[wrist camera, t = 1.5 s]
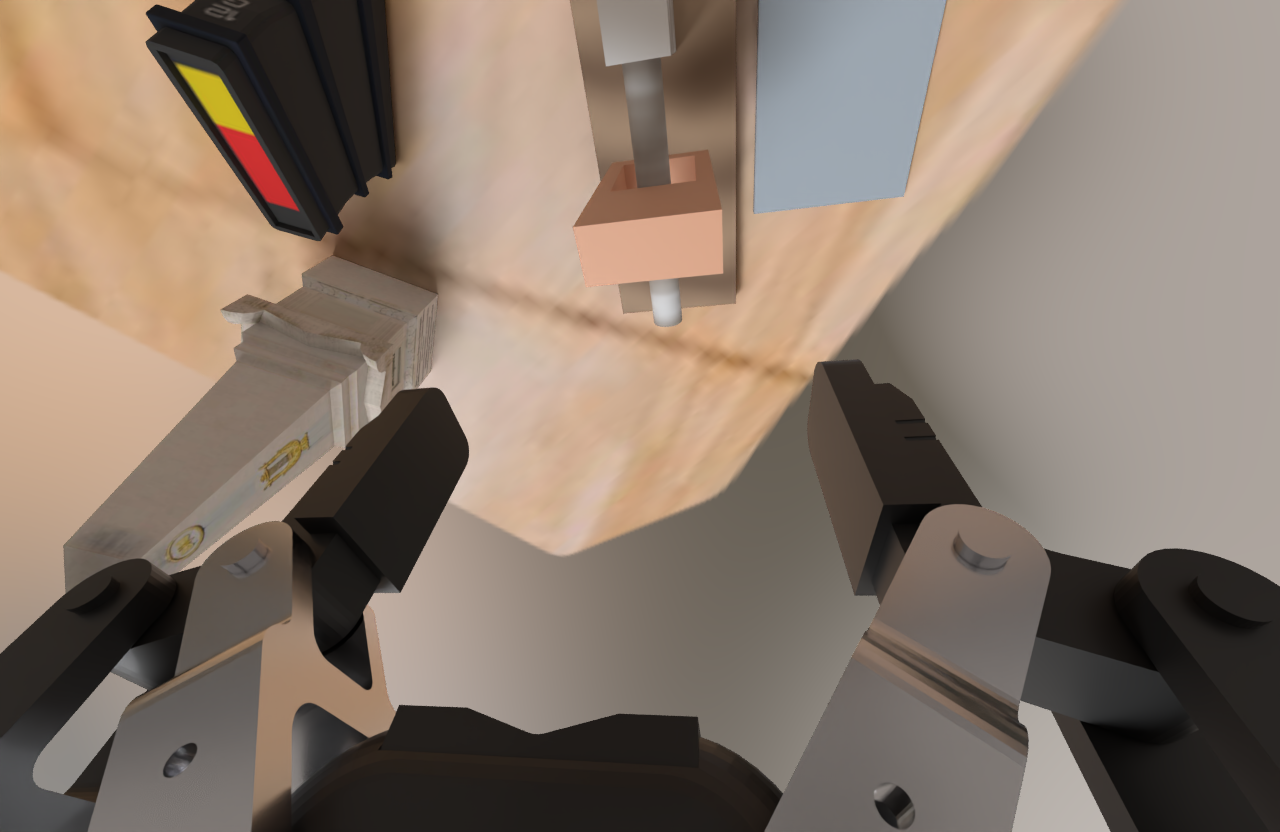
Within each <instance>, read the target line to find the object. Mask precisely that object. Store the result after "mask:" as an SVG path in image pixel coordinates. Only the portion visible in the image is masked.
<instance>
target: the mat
mask: <svg viewBox="0 0 1280 832" xmlns="http://www.w3.org/2000/svg"><path fill="white" fill-rule="evenodd" d="M945 4H946V0H758V38H757V81H756V124H755V166H754V209H753V212H754V214H758V213H766V212H775V211H783V210H792V209H801V208H809V207H818V206H826V205H835V204H843V203H852V202H861V201H869V200H878V199H886V198H895V197H904V193H905V188H906V184H907V179H908V174H909V170H910V165H911V161H912V156H913V151H914V147H915V142H916V138H917V133H918V128H919V124H920V119H921V114H922V110H923V105H924V101H925V96H926V91H927V87H928V82H929V78H930V73H931V68H932V64H933V59H934V55H935V50H936V45H937V41H938V36H939V31H940V27H941V22H942V18H943V13H944V8H945Z"/></svg>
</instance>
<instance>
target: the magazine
mask: <svg viewBox="0 0 1280 832" xmlns="http://www.w3.org/2000/svg"><path fill="white" fill-rule="evenodd" d="M146 15H147V16H148V18H149V20H150V21H151V23H152V24H153V26H154V27H155V29H156V30H157V33H156V34H154V35H153V36H152V37H151V38H150V39H148V40H147V41H146V45H147V47H148V49H149V50H150V52H151V53H152V55H153V56H154V57H155V59H156V60H157V62H158V63H159V65H160V66H161V68H162V69H163V70H164V72H165V73H166V75H167V76H168V78H169V79H170V81H171V82H172V83H173V85H174V86H175V88H176V89H177V91H178V92H179V94H180V95H181V96H182V98H183V99H184V101H185V102H186V104H187V105H188V107H189V108H190V109H191V111H192V112H193V114H194V115H195V117H196V118H197V120H198V121H199V122H200V124H201V125H202V127H203V128H204V130H205V131H206V133H207V134H208V135H209V137H210V138H211V140H212V141H213V143H214V144H215V146H216V147H217V148H218V150H219V151H220V153H221V154H222V156H223V157H224V159H225V160H226V161H227V163H228V164H229V166H230V167H231V169H232V170H233V172H234V173H235V174H236V176H237V177H238V179H239V180H240V182H241V183H242V185H243V186H244V187H245V189H246V190H247V192H248V193H249V195H250V196H251V198H252V199H253V200H254V202H255V203H256V205H257V206H258V208H259V209H260V211H261V212H262V213H263V215H264V216H265V218H266V219H267V221H268V222H269V224H270V225H271V226H272V227H273V228H275V229H277V230H280V231H284V232H287V233H291V234H294V235H298V236H301V237H305V238H308V239H312V240H315V241H321V240H322V238H323V237H324V235H325V234H326V232H331V233H334V234H339V233H340V231H341V229H342V228H343V225H342V223H341V221H340V219H339V217H338V214H339V212H340V211H341V209H342V208H343V206H344V205H345V203H346V202H347V201H348V200H349V199H350V198H351V197H352V196H353V195H354V194H355V195H359V196H362V197H366V196H367V195H368V194H369V191H368V188H367V185H366V182H368V181H369V180H370V179H372V178H373V177H375V176H379V177H383V178H386V179H390V178H392V169H391V168H392V167H395V164H396V159H395V144H394V130H393V116H392V101H391V87H390V73H389V58H388V44H387V30H386V15H385V1H384V0H195V1H194V2H193V3H192V4H190V5H189V6H188V7H187V8H186V9H184V10H183V11H182V12H179V11H176V10H173V9H170V8H167V7H163V6H160V5H155V6H153V7H152V8H151V9H150V10H148V11H147V12H146Z"/></svg>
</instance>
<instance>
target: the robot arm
mask: <svg viewBox="0 0 1280 832" xmlns="http://www.w3.org/2000/svg"><path fill="white" fill-rule="evenodd" d="M807 425H808V426H807V434H808V444H809V449H810V453H811V457H812V460H813V463H814V466H815V469H816V473H817V476H818V479H819V482H820V485H821V489H822V492H823V495H824V498H825V502H826V505H827V508H828V511H829V514H830V517H831V521H832V524H833V527H834V530H835V534H836V537H837V540H838V543H839V547H840V550H841V553H842V556H843V559H844V563H845V566H846V569H847V572H848V576H849V578H850V582H851V585H852V588H853V592H854V595H876V596H877V598H878V601H879V604H880V607H879V609H878V611H877V613H876V615H875V617H874V619H873V621H872V623H871V625H870V627H869V628H868V630H867V631H865V633H864V635H863V636H862V638H861V640H860V642H859V644H858V645H857V648H856V649H855V651H854V653H853V655H852V657H851V659H850V661H849V663H848V665H847V667H846V669H845V671H844V673H843V675H842V677H841V679H840V681H839V683H838V685H837V687H836V689H835V691H834V693H833V695H832V697H831V699H830V702H829V703H828V705H827V707H826V709H825V711H824V713H823V715H822V717H821V719H820V721H819V723H818V725H817V727H816V729H815V731H814V733H813V736H812V737H811V739H810V741H809V743H808V745H807V747H806V749H805V751H804V753H803V755H802V757H801V759H800V761H799V763H798V765H797V768H796V769H795V771H794V773H793V775H792V777H791V779H790V781H789V783H788V786H787V787H786V789H785V791H784V793H782V792H781V791H780V790H779V789H778V788H777V786H776V785H775V784H774V783H773V782H772V781H770V780H769V779H768V778H767V777H766V776H765V775H764V774H763V773H762V772H761V771H760V770H759V769H757V768H756V767H755V766H753V765H752V764H750V763H749V762H748V761H747V760H745V759H744V758H742V757H741V756H740V755H738V754H737V753H735V752H733V751H731V750H729V749H727V748H725V747H723V746H722V745H720V744H718V743H715V742H713V741H710V740H707V739H704V738H702V737H701V735H700V729H699V723H698V717H687V716H662V715H635V714H616V715H612V716H609V717H605V718H601V719H598V720H593V721H590V722H586V723H582V724H578V725H575V726H571V727H568V728H564V729H559V730H556V731H552V732H548V733H544V734H531V733H528V732H525V731H523V730H520V729H518V728H515V727H513V726H510V725H508V724H506V723H503V722H501V721H499V720H496V719H494V718H491V717H488V716H486V715H484V714H481V713H479V712H476V711H474V710H472V709H469V708H461V707H460V708H458V707H435V706H434V707H433V706H410V705H409V706H408V705H399V707H398V709H397V711H395V710H394V708H393V706H392V705H391V702H390V700H389V697H388V693H387V688H386V681H385V676H384V669H383V664H382V657H381V650H380V644H379V638H378V633H377V626H376V619H375V614H374V611H373V610H372V608H371V607H370V606H369V605H368V602H369V601H370V599H371V597H372V595H373V594H374V593H400V592H401V590H402V589H403V587H404V585H405V583H406V581H407V579H408V577H409V575H410V573H411V571H412V569H413V567H414V565H415V563H416V562H417V560H418V558H419V556H420V554H421V552H422V550H423V548H424V546H425V544H426V542H427V540H428V539H429V537H430V535H431V533H432V531H433V529H434V527H435V525H436V523H437V521H438V519H439V517H440V515H441V513H442V512H443V510H444V508H445V506H446V504H447V502H448V500H449V498H450V496H451V494H452V492H453V490H454V488H455V486H456V485H457V483H458V481H459V479H460V477H461V475H462V473H463V471H464V469H465V467H466V465H467V462H468V458H469V446H468V442H467V439H466V436H465V434H464V432H463V430H462V428H461V426H460V424H459V422H458V421H457V419H456V417H455V415H454V413H453V411H452V409H451V407H450V405H449V403H448V401H447V399H446V397H445V395H444V393H443V392H442V391H441V390H440V389H438V388H421V389H406V390H401V391H399V392H398V393H397V394H396V395H395V396H394V397H393V399H392V400H391V401H390V402H389V403H388V405H387V406H386V407H385V408H384V409H383V411H382V412H381V413H380V414H379V415H378V416H377V417H376V418H374V419H373V420H372V421H370V422H369V423H368V424H366V425H365V426H364V427H362V428H361V429H360V430H359V431H358V432H357V433H356V434H355V436H354V437H353V438H352V439H351V440H350V442H349V443H348V444H347V445H346V446H345V448H346V449H345V450H342V451H341V452H340V453H339V455H338V456H337V457H336V458H335V459H334V460H333V465H329V466H328V468H327V469H326V470H325V471H324V472H323V473H322V475H321V476H320V477H319V478H318V479H317V481H316V482H315V483H314V484H313V485H312V487H311V488H310V489H309V490H308V491H307V493H306V494H305V495H304V496H303V497H302V498H301V500H300V501H299V502H298V503H297V504H296V505H295V507H294V508H293V509H292V510H291V511H290V513H289V514H288V515H287V516H286V517H285V518H284V520H283V521H282V522H279V521H272V522H266V523H262V524H258V525H255V526H253V527H250V528H248V529H246V530H244V531H242V532H240V533H238V534H237V535H235V536H233V537H232V538H230V539H229V540H228V541H226V542H225V543H224V544H222V545H221V546H220V547H218V548H217V549H216V550H215V551H214V552H213V553H212V554H211V555H210V556H209V557H208V558H207V559H206V560H205V562H204V563H203V564H202V566H199V567H196V568H192V569H188V570H185V571H181V572H178V573H175V574H171V575H168V574H166V573H165V572H163V571H162V570H161V569H159V568H158V567H156V566H155V565H153V564H152V563H151V562H149V561H148V560H146V559H141V558H136V559H129V560H125V561H122V562H119V563H116V564H113V565H111V566H109V567H107V568H104V569H102V570H101V571H99V572H97V573H95V574H93V575H92V576H90V577H88V578H87V579H85V580H83V581H82V582H80V583H79V584H78V585H76V586H75V587H73V588H72V589H71V590H70V591H68V592H67V593H66V594H65V595H63V596H62V597H61V598H60V599H59V600H58V601H57V602H56V603H55V604H54V605H52V607H50V608H49V609H48V610H47V611H46V612H45V613H44V614H43V615H42V616H41V617H40V618H38V619H37V620H36V621H35V622H34V623H33V624H32V625H31V626H30V627H29V628H28V629H27V630H26V631H24V632H23V633H22V634H21V635H20V636H19V637H18V638H17V639H16V640H15V641H14V642H13V643H11V644H10V645H9V646H8V647H7V648H6V649H5V650H4V651H3V652H2V653H1V654H0V832H1012V827H1013V822H1014V818H1015V813H1016V809H1017V804H1018V800H1019V795H1020V790H1021V786H1022V781H1023V776H1024V772H1025V767H1026V762H1027V755H1028V742H1029V740H1028V732H1027V729H1026V728H1025V726H1024V725H1022V724H1021V723H1019V721H1018V709H1019V703H1020V700H1021V701H1024V702H1027V703H1030V704H1033V705H1036V706H1039V707H1042V708H1045V709H1048V710H1051V711H1052V713H1053V716H1054V717H1055V720H1056V722H1057V723H1058V726H1059V727H1060V730H1061V732H1062V734H1063V736H1064V738H1065V740H1066V742H1067V744H1068V746H1069V748H1070V750H1071V752H1072V754H1073V756H1074V758H1075V760H1076V762H1077V764H1078V766H1079V768H1080V770H1081V772H1082V774H1083V776H1084V778H1085V780H1086V782H1087V784H1088V786H1089V788H1090V791H1091V792H1092V794H1093V796H1094V799H1095V800H1096V803H1097V805H1098V806H1099V809H1100V811H1101V813H1102V815H1103V817H1104V819H1105V821H1106V823H1107V825H1108V827H1109V829H1110V831H1111V832H1280V586H1278V585H1277V584H1275V583H1273V582H1272V581H1270V580H1269V579H1267V578H1265V577H1264V576H1261V575H1260V574H1258V573H1256V572H1254V571H1252V570H1250V569H1248V568H1246V567H1244V566H1241V565H1239V564H1237V563H1235V562H1232V561H1229V560H1226V559H1224V558H1221V557H1218V556H1214V555H1211V554H1207V553H1203V552H1198V551H1193V550H1187V549H1162V550H1157V551H1154V552H1151V553H1149V554H1147V555H1146V556H1145V557H1143V558H1142V559H1141V560H1140V561H1139V562H1138V563H1137V564H1136V565H1135V566H1134V567H1133V568H1132V569H1128V568H1123V567H1119V566H1114V565H1110V564H1105V563H1101V562H1097V561H1092V560H1088V559H1083V558H1079V557H1074V556H1070V555H1065V554H1061V553H1057V552H1054V551H1050V550H1047V549H1044V548H1043V547H1042V545H1041V544H1040V543H1039V542H1038V540H1036V538H1035V537H1034V536H1033V535H1032V534H1031V533H1030V532H1028V531H1027V530H1026V529H1025V528H1024V527H1022V526H1021V525H1019V524H1018V523H1016V522H1015V521H1013V520H1011V519H1009V518H1008V517H1006V516H1004V515H1002V514H999V513H997V512H995V511H992V510H989V509H986V508H983V507H982V506H981V505H980V503H979V501H978V500H977V498H976V497H975V496H974V494H973V492H972V491H971V489H970V488H969V486H968V484H967V483H966V481H965V480H964V478H963V477H962V475H961V474H960V472H959V471H958V469H957V467H956V466H955V464H954V463H953V461H952V460H951V458H950V457H949V455H948V454H947V452H946V451H945V449H944V448H943V446H942V444H941V443H940V441H939V440H936V438H935V437H936V435H935V433H934V432H933V431H932V429H931V427H930V426H929V424H928V423H925V418H924V416H923V415H922V414H921V412H920V410H919V409H918V407H917V406H916V404H915V403H914V401H913V400H912V399H911V398H910V397H909V396H907V395H906V394H904V393H903V392H901V391H900V390H899V389H897V388H896V387H894V386H893V385H892V384H890V383H884V384H874V383H873V381H872V379H871V377H870V376H869V374H868V372H867V370H866V368H865V367H864V365H863V363H862V362H861V361H860V360H858V359H854V360H841V361H825V362H818V363H817V364H816V367H815V370H814V377H813V385H812V393H811V400H810V408H809V415H808V424H807ZM110 672H112V673H114V674H116V675H119V676H120V677H123V678H124V679H126V680H128V681H131V682H133V683H135V684H137V685H139V686H141V687H143V688H145V689H147V691H146V692H145V693H143V694H141V695H140V696H137V697H136V698H135V699H134V700H132V701H131V702H130V703H129V704H128V706H127V707H126V708H125V710H124V712H123V714H122V715H121V718H120V721H119V724H118V727H117V730H116V731H115V732H114V733H113V734H112V736H111V737H110V738H109V740H108V741H107V742H106V744H105V745H104V746H103V747H102V748H101V750H100V751H99V752H98V754H97V755H96V756H95V757H94V759H93V760H92V761H91V763H90V764H89V765H88V766H87V768H86V769H85V770H84V772H83V773H82V774H81V775H80V776H79V778H78V779H77V780H76V782H75V783H74V784H73V785H72V786H71V788H70V789H68V790H67V792H65V793H64V794H60V793H56V792H52V791H48V790H44V789H42V788H39V787H38V786H37V785H36V784H35V782H34V781H33V768H34V764H35V762H36V760H37V758H38V756H39V755H40V753H41V752H42V750H43V749H44V748H45V746H46V745H47V744H48V743H49V742H50V740H52V738H53V737H54V736H55V735H56V734H57V732H58V731H59V730H60V729H61V728H62V727H63V726H64V725H65V723H66V722H67V721H68V720H69V719H70V718H71V716H72V715H73V714H74V713H75V712H76V711H77V710H78V708H79V707H80V706H81V705H82V704H83V703H84V702H85V700H86V699H87V698H88V697H89V696H90V695H91V693H92V692H93V691H94V690H95V689H96V688H97V687H98V685H99V684H100V683H101V682H102V681H103V680H104V679H105V677H106V676H107V675H108V674H109V673H110Z"/></svg>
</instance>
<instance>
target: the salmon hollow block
mask: <svg viewBox="0 0 1280 832" xmlns="http://www.w3.org/2000/svg"><path fill="white" fill-rule="evenodd" d="M669 165H670V177H671V184H666V185H658V186H650V187H643V188H637V181H636V173H635V165H634V160H629V161H622V162H615V163H612V164H611V166H610V167H609V169H608V171H607V172H606V174H605V176H604V177H603V179H602V180H601V182H600V184H599V185H598V187H597V189H596V190H595V192H594V194H593V195H592V197H591V198H590V200H589V202H588V203H587V205H586V207H585V208H584V210H583V212H582V213H581V215H580V217H579V218H578V220H577V221H576V223H575V225H574V226H573V230H574V234H575V239H576V243H577V248H578V253H579V257H580V262H581V266H582V271H583V275H584V280H585V285H586V287H592V286H602V285H612V284H622V283H632V282H642V281H652V280H663V279H673V278H683V277H693V276H703V275H713V274H723V233H722V207H721V203H720V198H719V194H718V190H717V185H716V181H715V177H714V173H713V168H712V164H711V160H710V155H709V151H708V150H701V151H694V152H687V153H680V154H673V155H669Z"/></svg>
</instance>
